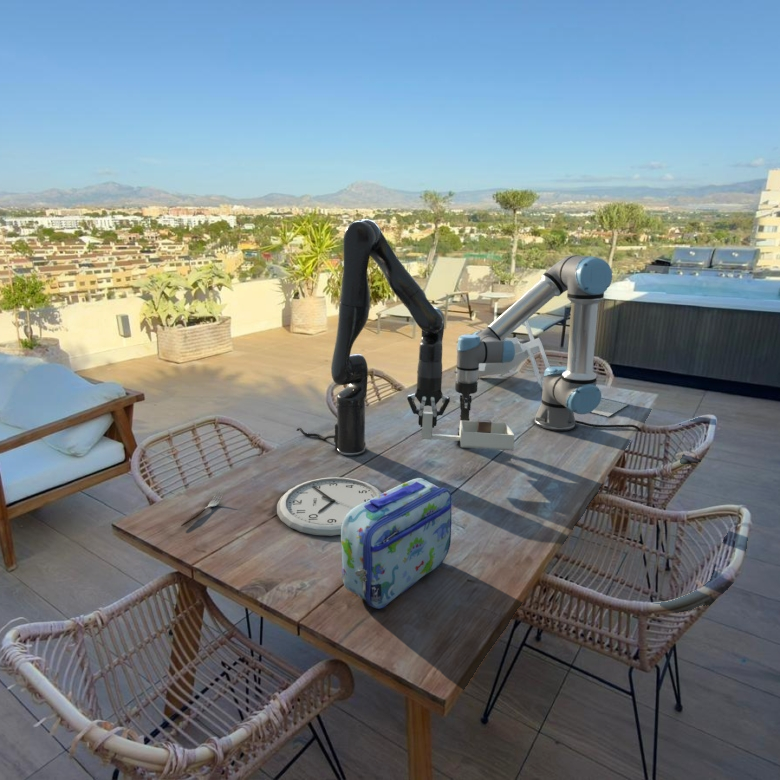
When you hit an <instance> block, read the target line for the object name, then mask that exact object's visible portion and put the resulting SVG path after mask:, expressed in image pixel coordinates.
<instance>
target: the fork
mask: <svg viewBox="0 0 780 780" xmlns="http://www.w3.org/2000/svg"><path fill="white" fill-rule="evenodd" d="M224 494H225V493H223V492H220V491H217V492H216V494H215V495H214V496H213V498H212V499H211V500H210V502H209V503H208V504H207V506H206V507H204V508H202V509H200V510H198V511H197V512H195V513H194V514H193V515H192V516H190V517H189V518H188V519H186V520H185V521H184V522H183V523H182V524H181V525H180V526H181V527H183V526H185V525H187V524H189V523H190V522H191V521H193V520H195V519H196V518H198V517H199V516H201V515H202V514H203V513H204V512H205V511H206V510H207V509H208V508H212V507H216V506H218V505H219V504H220V503H221V501H222V498H223V497H224Z"/></svg>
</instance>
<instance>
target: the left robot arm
mask: <svg viewBox="0 0 780 780" xmlns="http://www.w3.org/2000/svg"><path fill="white" fill-rule="evenodd" d="M342 240H343V242H342V243H343V249H342V250H343V270H342V278H341V287H340V295H339V305H338V320H337V330H336V337H335V344H334V347H333V348H334V349H333V354H332V359H331V366H330V373H331V378H332V380H333V382H334V383H335V384H336V385H338V386H346V385H347V386H346V387H345V388H344V389H342V390H341V391H340V392H339V393H338V394H337V395H336V410H337V411H336V414H337V415H336V423H334V434H333V435H331V434H330V435H326V436H322V435H321V434H320V433H309V432H305V431H304V430H303V429H302V427H298V428H296V430H295V431H297V432H300V433H301V434H302V435H304V436H308V437H317V438H319V439H321V440H323V441H326V440H328V439H333V442H334V450H335V451H336V452H337V453H338V454H340V455H342V456H347V457H354V456H359V455H362V454H364V453H365V452H366V397H367V394H368V380H369V379H368V377H369V367H368V362H367V360H366V358H365V357H364V356H363V355H362V354H360V353H356V354H355V353H354V354H351V353H352V348H353V346H354V343H355V341H357V339H358V337H359V336H360V335H361V333H362V331H363V329H364V328H365V326H366V325H367V322H368V320H369V316H370V307H371V291H370V286H369V280H368V267H369V261H370V258H372V260H374V263H376V264H377V265H378V267H379V268H380V270H381V272H382V274H383V276H384V278H385V280H386V282H387V284H388V286H389V287H390V289H391V291H392V292H393V294H394V295H395V296H396V297H397V298H398V300H399V301H400V302H401V304H402V305H403V306H404V307H405V308H406V309H407V310H408V312H409V313H410V315H411V317H412V318H413V320H414V321H415V323H416V324H417V326H418V327H419V328H420V330H421V337H420V339H421V340H420V343H419V348H418V362H417V370H416V390H415V392H414V393H412V394H407V402H408V405H409V406H410V409H411V411H412V413H413V415H417V416H418V426H420V428H422V423H423V412H424V409H425V407H431V412H433V418H432V429H434V428H435V427H436V426H437V422H438V417H439V416H443V414H444V413H445V411H446V409H447V407H448V405H449V404H450V402H451V397H450V396H449V395H448V396H446V395H444V393H443V391H442V384H443V383H442V382H443V339H444V332H445V322H446V319H445V314H444V312H443V311H442V310H441V309H440V308H438V307H436V306H433V305H432V303H431V302H430V300H429V299H428V298H427V295H426V292H425V291H424V290H423V288H422V287H421V286H420V284H418V282H417V281H416V280H415V279H414V278H413V276H412V275H411V274H410V272H409V271H408V270H407V269H406V268H405V266H404V265H403V264H402V262H401V261H400V259H399V258H398V256H397V255H396V254H395V252H394V250H393V249H392V247H391V246H390V244H389V242H388V240H387V239H386V237H385V235H384V234H383V231H382V230H381V229H380V227H379V226H378V224H377V223H376V222H375V221H373V220H372V219H367V218H365V219H360V220H355V221H353V222H351V223H349V224H348V225H347V227H346V228H345V230H344V233H343V239H342ZM415 400H417V401H418V402H419V403H420V406H419V408H417V405H416V403H415ZM440 401H441V403H442V404H441V406H440V408H439V409H438V407H437V404H438V403H439V402H440ZM307 433H308V434H307Z"/></svg>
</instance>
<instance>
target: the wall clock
mask: <svg viewBox="0 0 780 780" xmlns="http://www.w3.org/2000/svg"><path fill="white" fill-rule="evenodd" d="M382 493H383V492H382V491H381V490H380V489H379V488H377V487H376V486H375V485H372V484H371V483H369V482H366V481H363V480H359V479H355V478H349V477H338V476H337V477H335V476H333V477H332V476H331V477H322V478H317V479H312V480H307V481H305V482H302V483H299V484H297V485H295V486H294V487H292V488H290V489H288V490H287V491H286V492H285V493H284V494H283V495H281V497H280V498H279V500H278V502H277V503H276V515H277V516H278V518H279V520H280V521H281V522H282V523H283V524H285V525H286V526H287V527H288V528H290V529H293V530H295V531H297V532H300V533H304V534H308V535H312V536H313V535H314V536H327V537H328V536H329V537H331V536H341V528H342V523H343V520H344V518H345V517H346V515H347V514H348V512H349V511H350V510H351V509H353V508H354V507H356V506H358V505H360V504H362V503H364V502H366V501H368V500H370V499H372V498H374V497H376V496H378V495H380V494H382Z"/></svg>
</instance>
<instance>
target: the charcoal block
mask: <svg viewBox="0 0 780 780" xmlns="http://www.w3.org/2000/svg"><path fill="white" fill-rule="evenodd" d="M459 428H460V427H457V436H459ZM459 444H460V441H456V446H459Z"/></svg>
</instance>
